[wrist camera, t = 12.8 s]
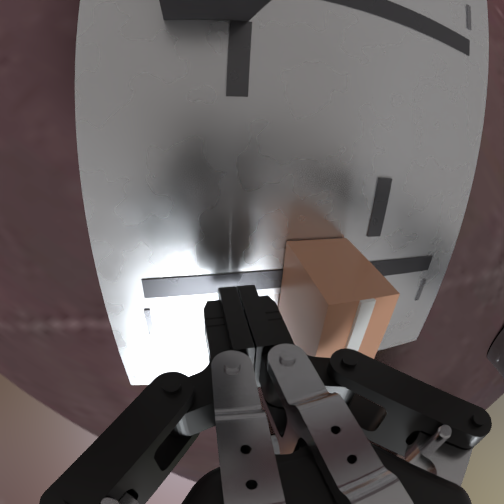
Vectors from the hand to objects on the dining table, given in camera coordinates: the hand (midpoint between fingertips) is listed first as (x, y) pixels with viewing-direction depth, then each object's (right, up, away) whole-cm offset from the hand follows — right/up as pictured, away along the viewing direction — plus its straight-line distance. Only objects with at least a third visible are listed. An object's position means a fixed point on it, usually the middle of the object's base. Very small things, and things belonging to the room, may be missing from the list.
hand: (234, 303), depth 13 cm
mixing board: (+4, +7, +1) cm, 8 cm away
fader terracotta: (+4, +1, +2) cm, 4 cm away
